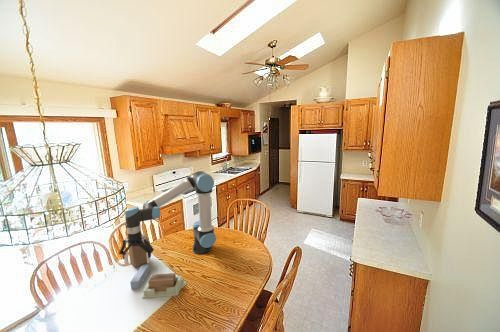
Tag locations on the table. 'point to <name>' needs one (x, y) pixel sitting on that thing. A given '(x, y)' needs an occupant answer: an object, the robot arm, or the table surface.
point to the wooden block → (137, 255)
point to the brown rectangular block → (162, 281)
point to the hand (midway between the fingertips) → (137, 262)
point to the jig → (169, 291)
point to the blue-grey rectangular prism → (139, 276)
